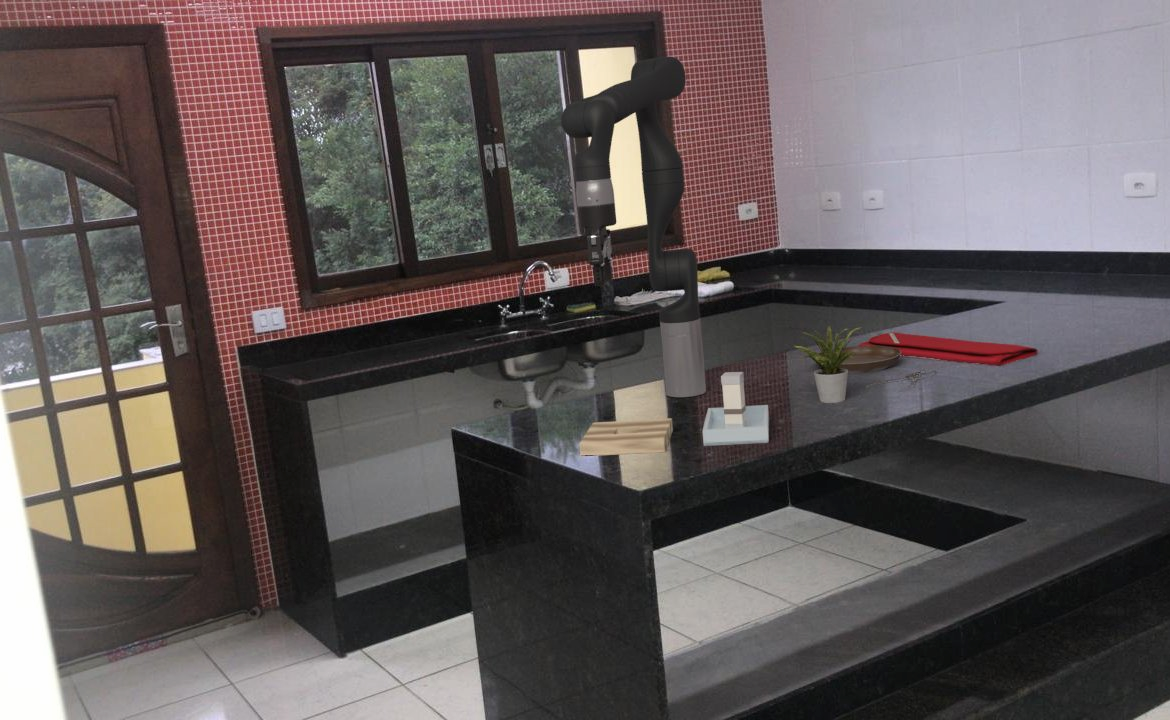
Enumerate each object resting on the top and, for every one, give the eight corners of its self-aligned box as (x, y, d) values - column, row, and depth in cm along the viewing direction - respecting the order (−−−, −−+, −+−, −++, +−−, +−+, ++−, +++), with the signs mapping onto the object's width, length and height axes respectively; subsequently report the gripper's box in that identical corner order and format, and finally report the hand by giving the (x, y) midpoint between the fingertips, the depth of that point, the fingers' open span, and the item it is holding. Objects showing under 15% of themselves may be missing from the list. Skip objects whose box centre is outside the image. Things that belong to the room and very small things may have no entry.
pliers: (862, 387, 233) (895, 368, 249) (862, 391, 233) (896, 372, 249) (905, 389, 227) (937, 370, 243) (905, 393, 227) (937, 374, 243)
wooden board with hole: (594, 434, 217) (593, 422, 216) (672, 430, 214) (671, 418, 213) (580, 456, 201) (579, 443, 201) (665, 452, 198) (663, 439, 198)
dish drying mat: (999, 368, 243) (998, 352, 242) (856, 354, 276) (855, 340, 275) (1038, 356, 252) (1038, 340, 251) (895, 343, 285) (895, 330, 284)
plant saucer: (849, 379, 245) (849, 365, 245) (797, 368, 264) (796, 355, 264) (920, 365, 253) (919, 351, 253) (864, 355, 272) (863, 342, 272)
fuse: (729, 427, 210) (725, 372, 208) (747, 427, 208) (743, 371, 206) (725, 431, 206) (720, 376, 204) (743, 431, 205) (739, 375, 203)
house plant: (845, 388, 236) (841, 315, 233) (884, 398, 223) (880, 321, 220) (789, 399, 231) (784, 324, 228) (825, 409, 218) (821, 331, 215)
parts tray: (709, 422, 217) (708, 408, 217) (769, 419, 215) (767, 404, 215) (703, 445, 200) (702, 430, 199) (768, 442, 198) (767, 427, 197)
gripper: (608, 203, 206) (616, 286, 209) (619, 199, 220) (626, 277, 223) (570, 206, 208) (579, 289, 211) (583, 202, 221) (591, 280, 224)
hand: (603, 283), depth 217 cm, fingers open, 8 cm apart
